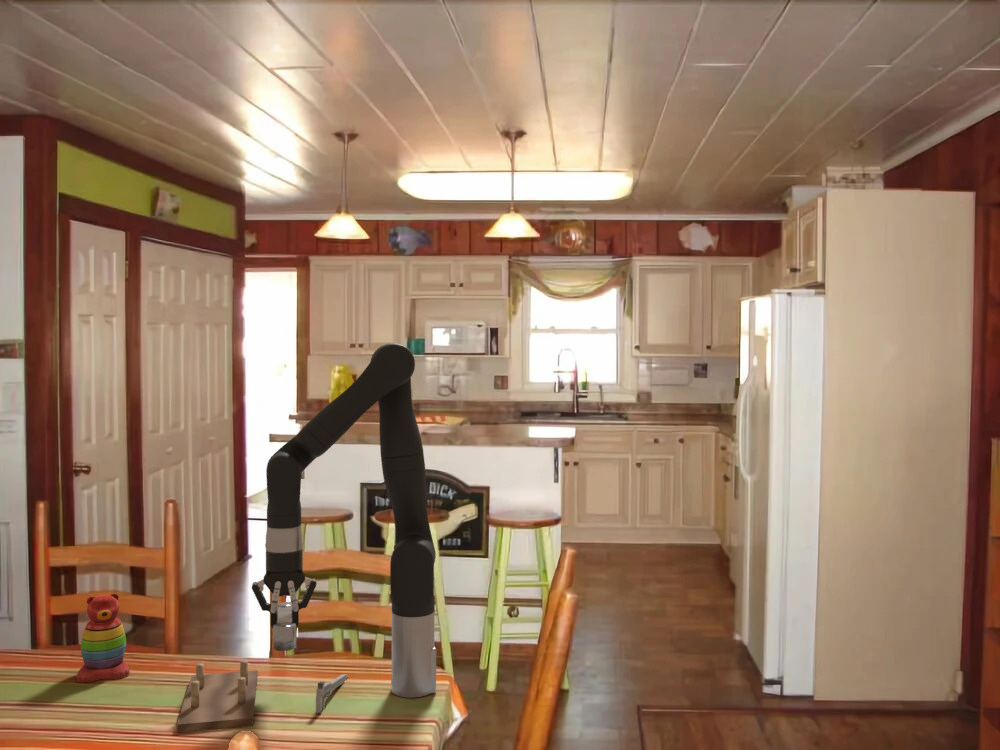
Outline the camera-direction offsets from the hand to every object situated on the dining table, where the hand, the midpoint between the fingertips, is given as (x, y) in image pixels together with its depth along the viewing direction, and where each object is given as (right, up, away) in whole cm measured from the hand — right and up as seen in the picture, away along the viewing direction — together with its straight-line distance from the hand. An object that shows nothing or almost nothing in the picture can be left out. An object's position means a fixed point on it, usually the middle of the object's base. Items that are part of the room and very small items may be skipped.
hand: (284, 628), depth 184 cm
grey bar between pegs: (0, -2, 0) cm, 2 cm away
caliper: (+10, -16, +3) cm, 18 cm away
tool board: (-13, -15, -2) cm, 20 cm away
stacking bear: (-45, -15, +14) cm, 49 cm away
